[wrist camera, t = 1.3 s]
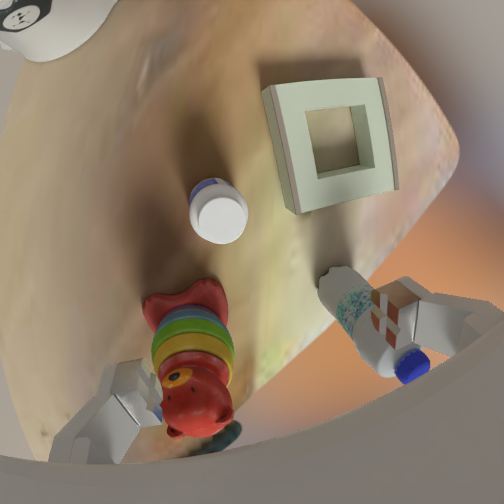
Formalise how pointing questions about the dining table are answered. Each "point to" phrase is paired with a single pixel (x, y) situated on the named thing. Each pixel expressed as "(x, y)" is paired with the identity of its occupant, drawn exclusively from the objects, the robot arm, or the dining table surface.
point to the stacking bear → (192, 358)
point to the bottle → (368, 326)
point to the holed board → (300, 148)
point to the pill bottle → (217, 211)
